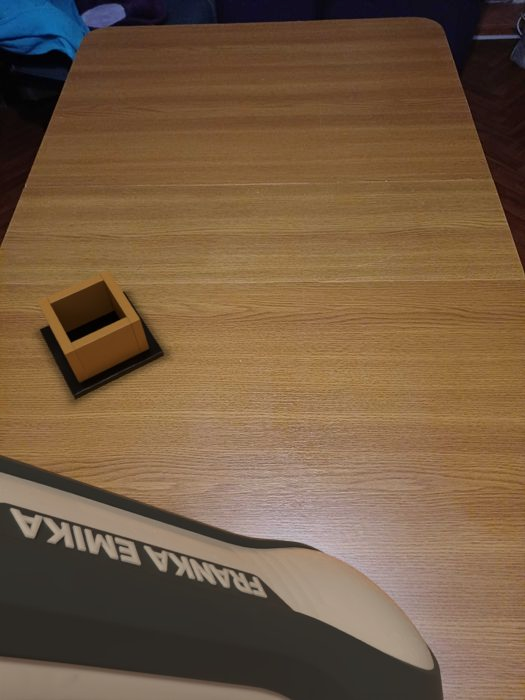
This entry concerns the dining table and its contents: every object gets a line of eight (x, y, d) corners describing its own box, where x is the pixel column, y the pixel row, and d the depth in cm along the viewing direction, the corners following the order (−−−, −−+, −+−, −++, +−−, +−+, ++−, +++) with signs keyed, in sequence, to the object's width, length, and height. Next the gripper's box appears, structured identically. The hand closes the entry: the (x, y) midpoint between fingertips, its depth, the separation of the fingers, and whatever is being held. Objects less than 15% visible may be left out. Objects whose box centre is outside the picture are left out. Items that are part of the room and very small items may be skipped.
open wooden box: (75, 399, 74) (58, 367, 69) (41, 333, 80) (23, 299, 75) (164, 355, 77) (154, 321, 72) (125, 294, 84) (113, 259, 78)
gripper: (428, 668, 34) (340, 556, 47) (56, 834, 30) (76, 661, 43) (453, 763, 35) (360, 627, 48) (97, 934, 31) (104, 736, 45)
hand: (223, 644), depth 46 cm, fingers open, 8 cm apart
